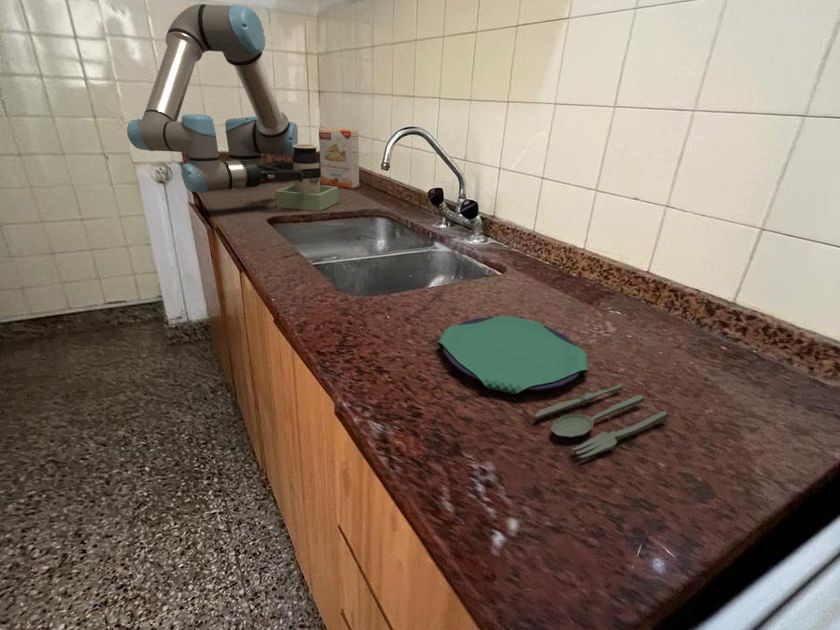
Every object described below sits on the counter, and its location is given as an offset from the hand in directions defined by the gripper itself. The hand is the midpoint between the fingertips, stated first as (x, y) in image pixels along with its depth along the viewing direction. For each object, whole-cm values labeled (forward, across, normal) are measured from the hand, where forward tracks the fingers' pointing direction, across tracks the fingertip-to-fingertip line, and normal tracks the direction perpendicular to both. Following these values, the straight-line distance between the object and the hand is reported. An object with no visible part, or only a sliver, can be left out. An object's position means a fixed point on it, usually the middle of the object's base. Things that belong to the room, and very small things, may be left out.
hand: (309, 169), depth 142 cm
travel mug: (-1, 0, -11) cm, 11 cm away
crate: (-1, 0, -11) cm, 11 cm away
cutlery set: (-25, +106, -11) cm, 110 cm away
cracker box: (+24, -22, -11) cm, 34 cm away
